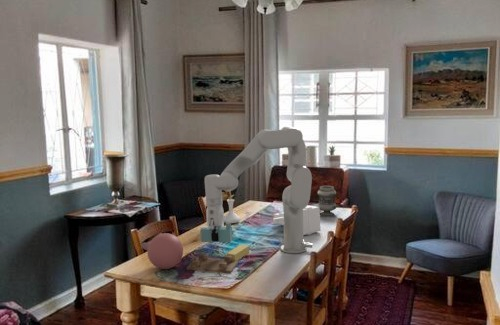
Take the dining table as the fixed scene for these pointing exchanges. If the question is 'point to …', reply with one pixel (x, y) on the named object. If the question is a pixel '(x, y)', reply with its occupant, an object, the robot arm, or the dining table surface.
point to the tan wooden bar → (238, 252)
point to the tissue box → (305, 219)
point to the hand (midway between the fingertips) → (216, 238)
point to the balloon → (164, 250)
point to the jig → (212, 264)
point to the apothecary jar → (326, 200)
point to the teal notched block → (223, 233)
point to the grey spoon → (230, 211)
